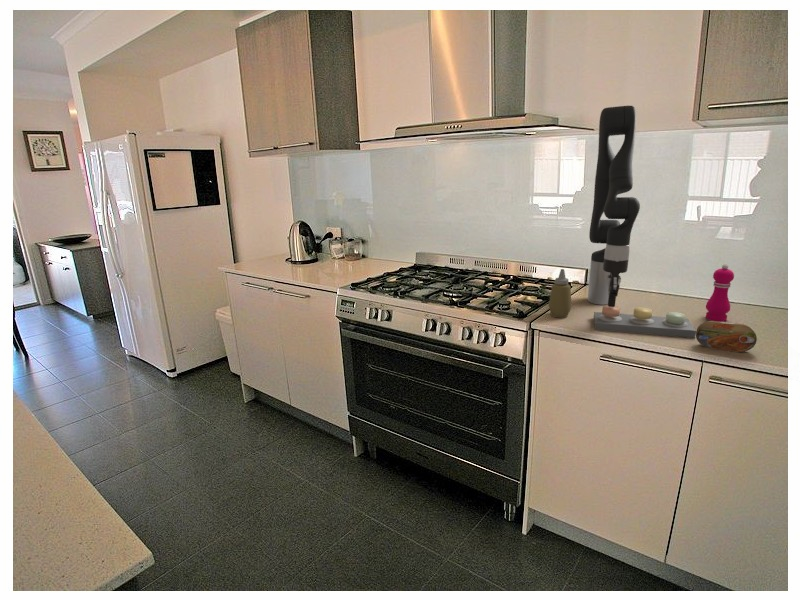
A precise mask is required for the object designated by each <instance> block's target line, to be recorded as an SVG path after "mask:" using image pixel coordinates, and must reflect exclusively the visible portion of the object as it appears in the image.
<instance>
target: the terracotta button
mask: <svg viewBox="0 0 800 600" xmlns="http://www.w3.org/2000/svg"><path fill="white" fill-rule="evenodd" d="M601 312H602V315H604V316H608V317H617V316H619V314H621V313H620V312H621V308H620V307H619V306H616V305H615V307H609V306H608V304H605V305H603V306H602V309H601Z"/></svg>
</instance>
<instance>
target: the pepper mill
mask: <svg viewBox="0 0 800 600" xmlns="http://www.w3.org/2000/svg"><path fill="white" fill-rule="evenodd" d="M712 278H713V280H714V281H713V292H712V294H711V296H710V297H709V299H708V300H707V302H706V305H705V309H706V310H707V312H705V318H706V319H707V320H708V321H718V322H727V320H728V315H727V314H728V313H729V312H731V303H730V299H729V295H728V293H729V289H730V288H731V285H732V283H731V282H732V281H733V280H734V278H735V272H734V271H733V270H731V269H729V265H728V264H723V265H722V266H721V268H717V269H716V270H715V271H714V272H713V275H712Z"/></svg>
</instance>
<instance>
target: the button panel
mask: <svg viewBox="0 0 800 600" xmlns="http://www.w3.org/2000/svg"><path fill="white" fill-rule="evenodd" d="M593 325H594V330H596V331H597V330H598V331H606V332H607V331H609V332H620V333H630V334H631V333H632V334H642V335H643V334H645V335H654V336H656V335H657V336H667V337H679V338H689V339H690V338H691V339H695V338H696V331H697V329H695V327H694V326H693V324H692V323H691V321H690V320H689V318H685V323H684V324H672V323H668V322H666V316H655V315H652V318H651V319H638V318H635V317H634V316H633V314H627V313H620V314H619V316H617V317H608V316H604V315H602V311H601V312H599V311H593Z"/></svg>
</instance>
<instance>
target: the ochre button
mask: <svg viewBox="0 0 800 600" xmlns="http://www.w3.org/2000/svg"><path fill="white" fill-rule="evenodd" d="M632 315H633V316H634V317H635V318H638V319H651V318H652V316H653V310H652V309H651V308H648V307H640V306H639V307H634V308H633V313H632Z"/></svg>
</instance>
